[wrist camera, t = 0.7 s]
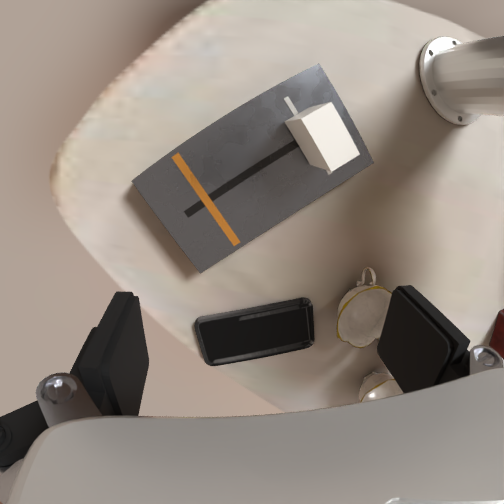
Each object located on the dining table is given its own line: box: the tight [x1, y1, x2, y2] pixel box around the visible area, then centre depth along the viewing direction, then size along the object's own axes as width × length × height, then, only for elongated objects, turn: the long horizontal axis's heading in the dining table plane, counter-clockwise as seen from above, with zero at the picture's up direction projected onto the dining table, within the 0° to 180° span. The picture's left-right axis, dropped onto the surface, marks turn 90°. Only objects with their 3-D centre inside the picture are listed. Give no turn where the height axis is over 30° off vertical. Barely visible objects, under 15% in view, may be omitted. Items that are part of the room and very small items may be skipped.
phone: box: [195, 298, 314, 366], centre depth 40 cm, size 8×1×15 cm
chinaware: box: [336, 267, 404, 403], centre depth 37 cm, size 28×17×17 cm, turn 27°
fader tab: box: [285, 102, 360, 172], centre depth 27 cm, size 3×5×6 cm, turn 32°
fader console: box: [132, 64, 374, 273], centre depth 32 cm, size 22×12×3 cm, turn 122°
